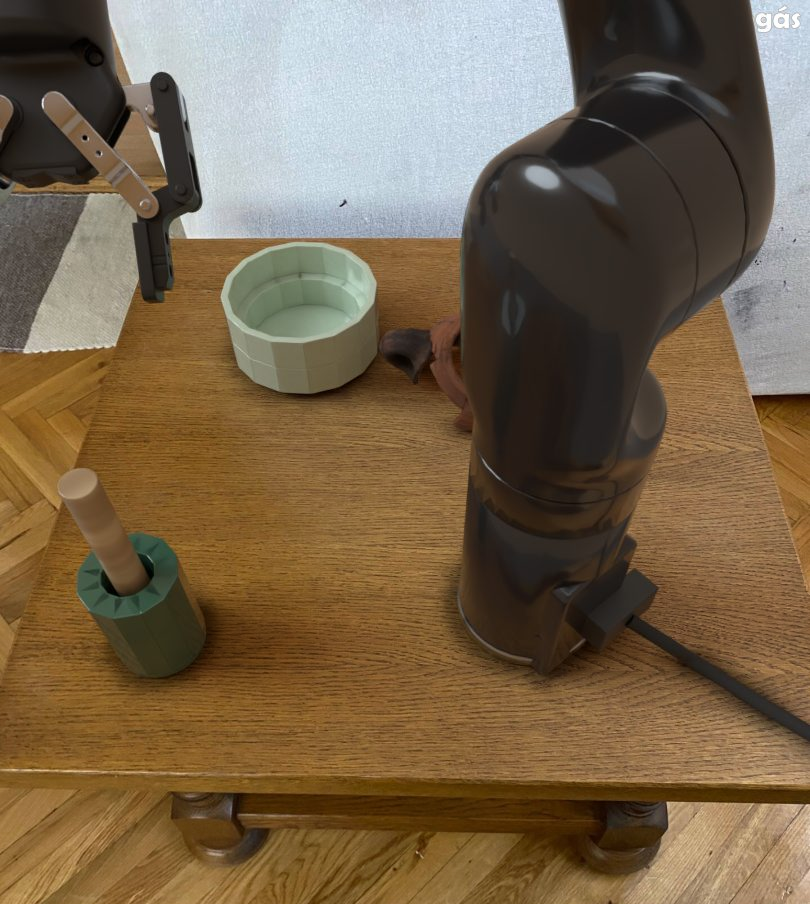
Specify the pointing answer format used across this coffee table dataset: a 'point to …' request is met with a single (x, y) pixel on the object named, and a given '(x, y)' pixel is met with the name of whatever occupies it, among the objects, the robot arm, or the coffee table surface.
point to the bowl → (302, 316)
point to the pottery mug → (415, 351)
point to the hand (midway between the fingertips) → (70, 307)
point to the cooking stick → (103, 530)
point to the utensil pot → (146, 611)
